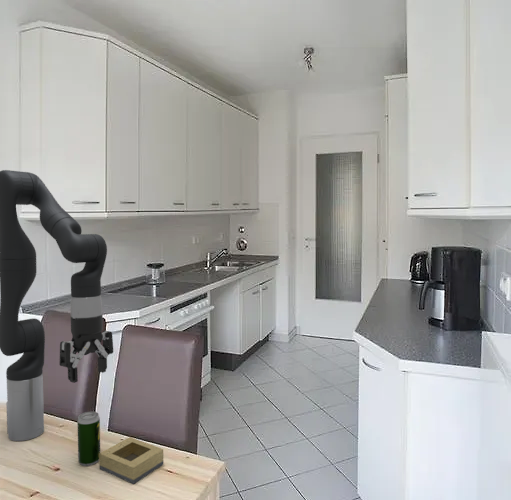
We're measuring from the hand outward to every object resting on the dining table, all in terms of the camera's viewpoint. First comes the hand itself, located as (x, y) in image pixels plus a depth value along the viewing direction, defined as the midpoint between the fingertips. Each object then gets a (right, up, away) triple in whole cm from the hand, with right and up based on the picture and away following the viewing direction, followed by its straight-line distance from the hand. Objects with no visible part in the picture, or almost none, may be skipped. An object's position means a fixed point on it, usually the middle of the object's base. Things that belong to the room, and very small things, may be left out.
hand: (88, 376), depth 112 cm
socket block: (+11, -22, -1) cm, 25 cm away
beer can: (0, -22, +2) cm, 22 cm away
